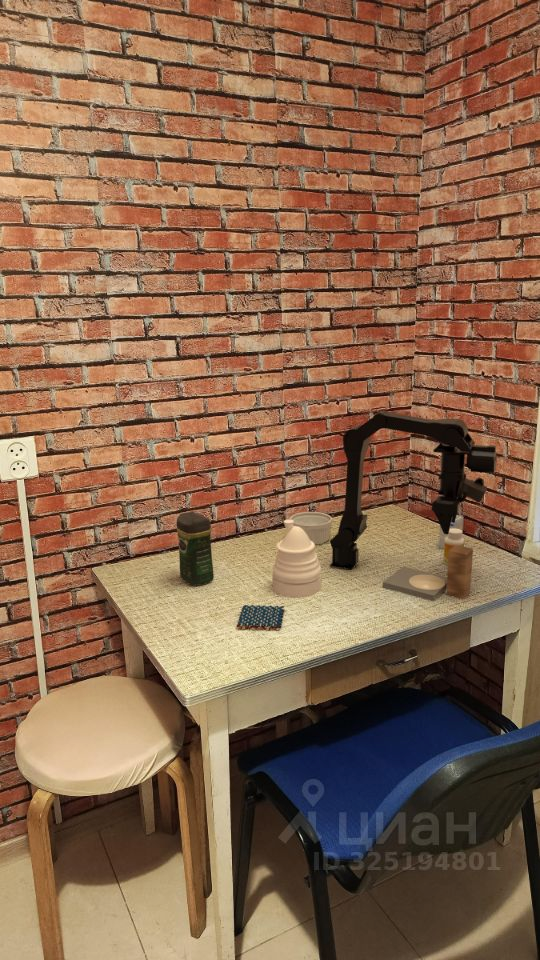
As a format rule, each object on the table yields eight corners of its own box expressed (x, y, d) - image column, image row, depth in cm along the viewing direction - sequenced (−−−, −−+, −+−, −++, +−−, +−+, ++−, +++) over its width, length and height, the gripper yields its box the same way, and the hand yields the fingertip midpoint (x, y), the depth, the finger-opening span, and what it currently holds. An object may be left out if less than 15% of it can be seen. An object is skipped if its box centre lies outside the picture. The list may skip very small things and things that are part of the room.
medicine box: (448, 540, 198) (449, 513, 196) (462, 542, 196) (463, 515, 193) (438, 548, 192) (439, 520, 190) (452, 551, 189) (454, 523, 187)
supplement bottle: (463, 567, 178) (465, 534, 175) (443, 566, 179) (445, 533, 176) (462, 559, 183) (464, 527, 180) (442, 558, 184) (444, 526, 182)
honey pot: (265, 593, 166) (263, 528, 161) (282, 573, 177) (280, 511, 172) (313, 600, 162) (313, 533, 157) (327, 579, 173) (327, 516, 168)
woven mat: (241, 610, 158) (241, 603, 158) (284, 611, 157) (284, 604, 157) (235, 632, 148) (235, 624, 148) (281, 633, 147) (281, 625, 147)
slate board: (382, 587, 168) (382, 581, 167) (403, 571, 177) (403, 565, 176) (433, 601, 159) (433, 594, 159) (452, 583, 169) (452, 577, 168)
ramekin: (310, 528, 211) (310, 508, 209) (341, 538, 201) (341, 517, 200) (281, 539, 202) (280, 518, 200) (311, 550, 193) (311, 528, 191)
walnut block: (446, 594, 162) (448, 550, 159) (453, 588, 166) (455, 544, 163) (463, 599, 160) (466, 554, 156) (470, 592, 163) (473, 548, 160)
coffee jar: (218, 581, 174) (215, 516, 168) (192, 589, 169) (188, 522, 164) (201, 569, 181) (197, 507, 176) (176, 576, 177) (171, 513, 172)
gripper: (480, 482, 151) (476, 544, 155) (490, 463, 167) (486, 520, 171) (432, 478, 155) (429, 538, 160) (446, 460, 172) (443, 515, 176)
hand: (449, 528), depth 167 cm, fingers open, 9 cm apart
